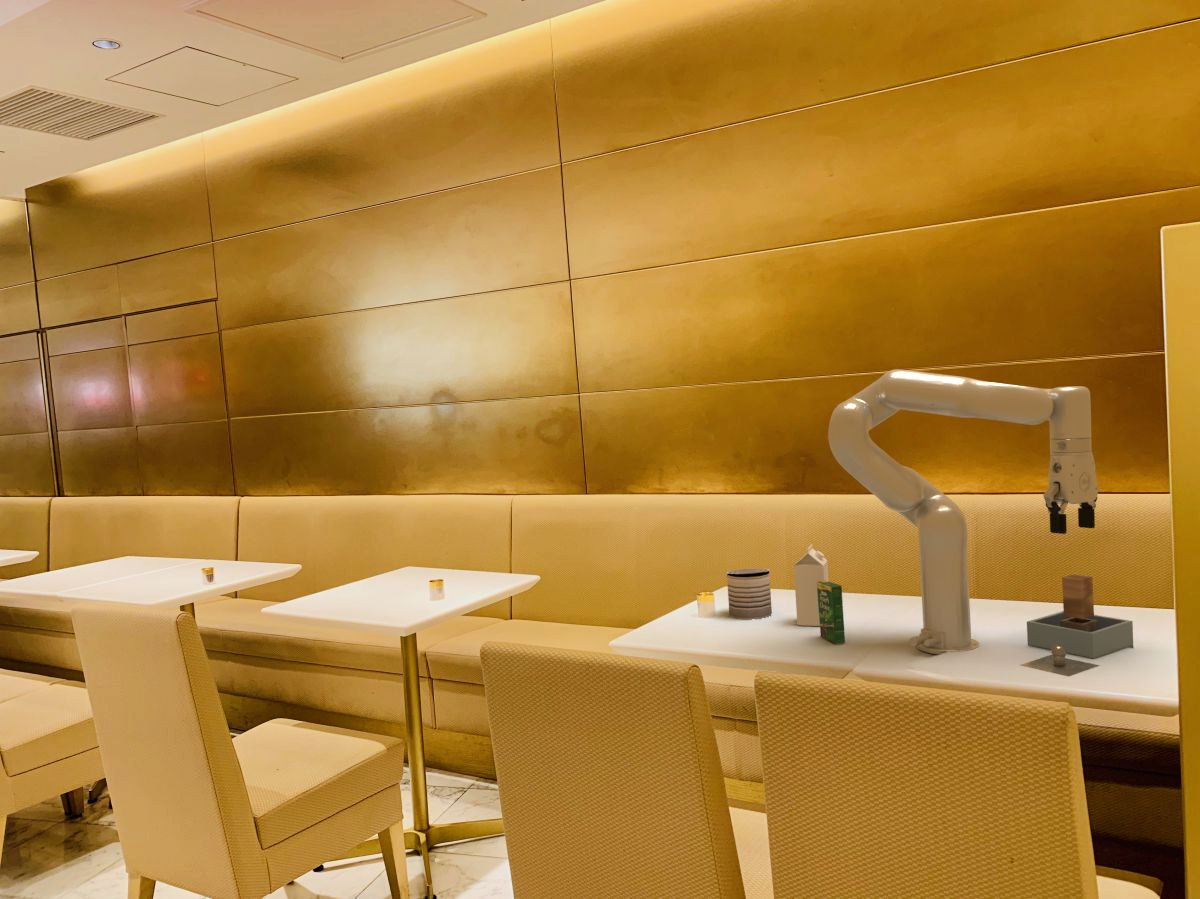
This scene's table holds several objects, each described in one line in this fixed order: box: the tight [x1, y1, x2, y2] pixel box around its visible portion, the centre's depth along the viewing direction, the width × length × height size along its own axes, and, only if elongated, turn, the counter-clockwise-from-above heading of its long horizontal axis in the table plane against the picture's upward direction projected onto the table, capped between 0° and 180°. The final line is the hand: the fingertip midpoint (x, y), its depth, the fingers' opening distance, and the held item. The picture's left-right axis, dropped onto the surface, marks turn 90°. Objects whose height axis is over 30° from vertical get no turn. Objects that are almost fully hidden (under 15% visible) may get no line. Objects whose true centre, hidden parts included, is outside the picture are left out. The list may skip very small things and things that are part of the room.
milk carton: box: [793, 544, 830, 627], centre depth 222 cm, size 7×7×19 cm
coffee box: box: [817, 580, 846, 645], centre depth 206 cm, size 8×3×13 cm, turn 10°
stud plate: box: [1020, 645, 1101, 678], centre depth 174 cm, size 10×10×5 cm
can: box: [726, 568, 773, 621], centre depth 235 cm, size 11×11×12 cm
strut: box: [1060, 574, 1098, 632], centre depth 185 cm, size 5×5×14 cm
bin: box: [1026, 610, 1134, 660], centre depth 186 cm, size 14×14×6 cm
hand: (1072, 530), depth 185 cm, fingers open, 9 cm apart
